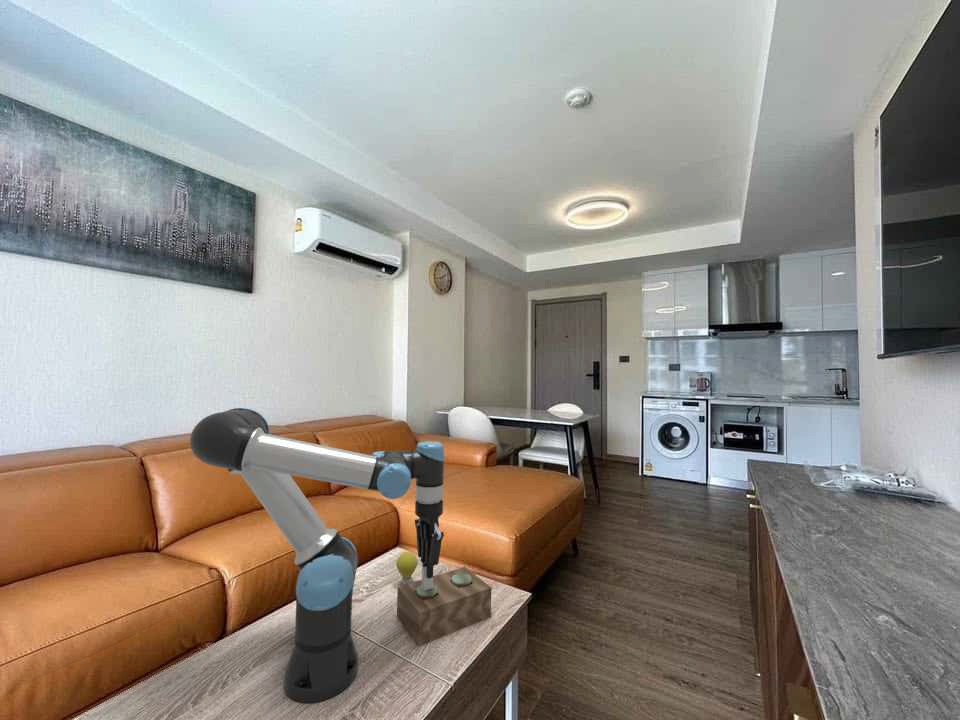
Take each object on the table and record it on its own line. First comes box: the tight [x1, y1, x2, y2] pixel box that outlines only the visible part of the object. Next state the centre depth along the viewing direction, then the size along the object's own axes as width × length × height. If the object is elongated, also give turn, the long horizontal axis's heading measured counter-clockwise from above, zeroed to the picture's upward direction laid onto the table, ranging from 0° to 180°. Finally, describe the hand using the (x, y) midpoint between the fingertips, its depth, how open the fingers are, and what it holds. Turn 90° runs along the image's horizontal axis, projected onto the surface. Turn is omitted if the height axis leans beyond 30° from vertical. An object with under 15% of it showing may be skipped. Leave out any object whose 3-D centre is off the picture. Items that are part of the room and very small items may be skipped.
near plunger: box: [416, 584, 437, 600], centre depth 105 cm, size 6×6×8 cm
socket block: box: [396, 566, 492, 647], centre depth 109 cm, size 22×14×8 cm, turn 124°
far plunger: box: [452, 573, 471, 588], centre depth 112 cm, size 6×6×8 cm
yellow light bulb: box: [395, 551, 419, 586], centre depth 125 cm, size 7×7×10 cm
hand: (427, 587), depth 106 cm, fingers closed
